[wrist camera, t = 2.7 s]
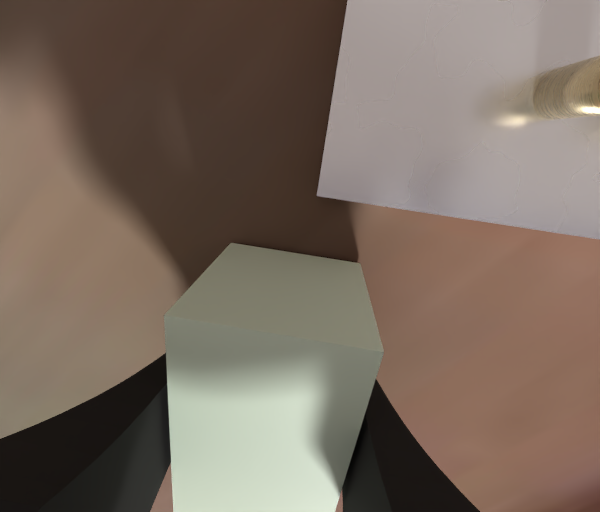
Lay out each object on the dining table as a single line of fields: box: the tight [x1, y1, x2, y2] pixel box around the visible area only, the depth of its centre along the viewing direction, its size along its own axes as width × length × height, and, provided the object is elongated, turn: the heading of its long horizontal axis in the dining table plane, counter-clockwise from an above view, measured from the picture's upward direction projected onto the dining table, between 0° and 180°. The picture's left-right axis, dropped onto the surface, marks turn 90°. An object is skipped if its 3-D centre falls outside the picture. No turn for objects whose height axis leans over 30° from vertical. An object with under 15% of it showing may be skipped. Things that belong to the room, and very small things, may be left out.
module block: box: [164, 243, 384, 512], centre depth 10 cm, size 5×8×5 cm, turn 172°
